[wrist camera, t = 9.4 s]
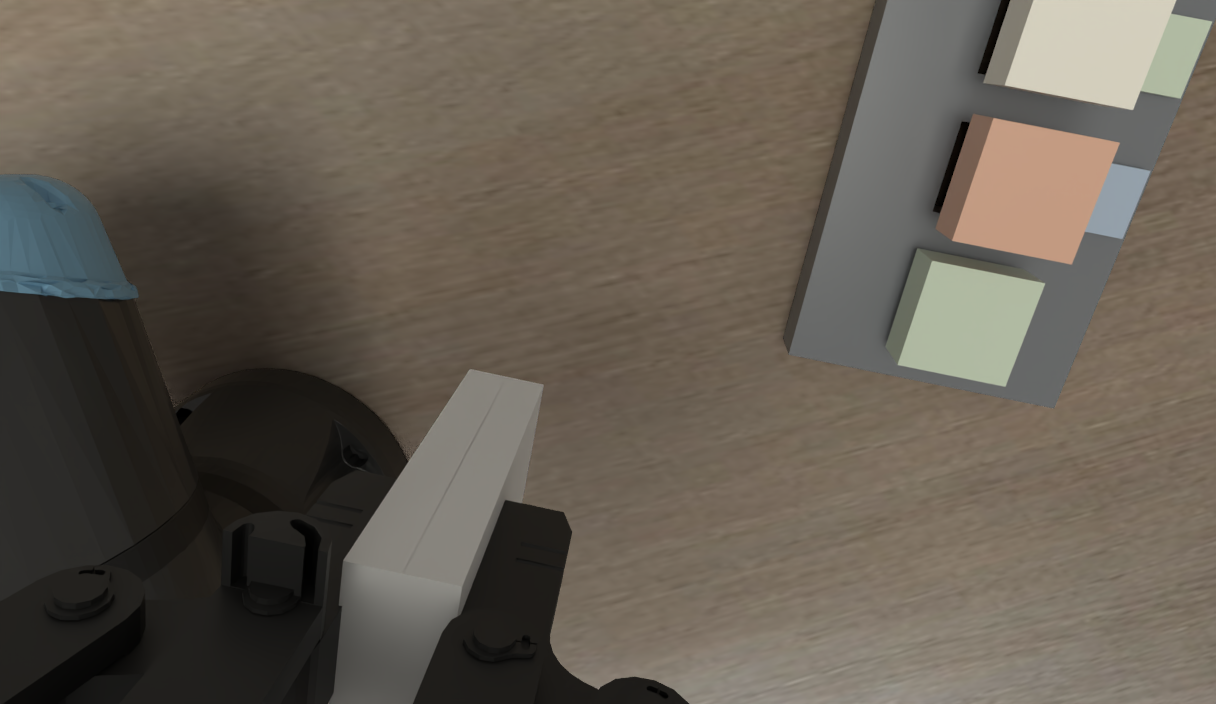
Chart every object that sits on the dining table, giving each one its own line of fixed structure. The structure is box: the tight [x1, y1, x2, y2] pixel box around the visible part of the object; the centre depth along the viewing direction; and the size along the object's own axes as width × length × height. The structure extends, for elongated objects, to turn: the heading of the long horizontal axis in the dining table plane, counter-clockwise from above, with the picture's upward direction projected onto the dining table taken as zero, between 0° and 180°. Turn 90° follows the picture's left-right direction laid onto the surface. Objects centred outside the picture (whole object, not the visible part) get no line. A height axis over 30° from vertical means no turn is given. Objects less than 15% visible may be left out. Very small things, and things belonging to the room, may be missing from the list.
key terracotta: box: [935, 114, 1120, 265], centre depth 34 cm, size 5×5×5 cm
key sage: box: [885, 248, 1045, 387], centre depth 38 cm, size 5×5×5 cm
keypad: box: [783, 0, 1216, 408], centre depth 36 cm, size 26×13×3 cm, turn 170°
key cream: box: [983, 0, 1176, 110], centre depth 32 cm, size 5×5×5 cm
